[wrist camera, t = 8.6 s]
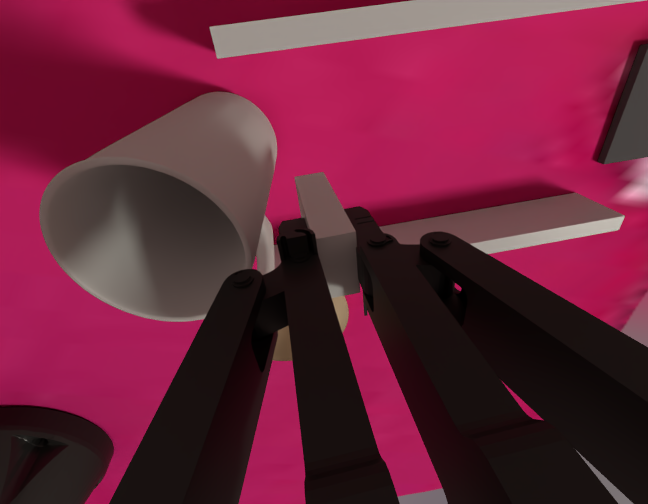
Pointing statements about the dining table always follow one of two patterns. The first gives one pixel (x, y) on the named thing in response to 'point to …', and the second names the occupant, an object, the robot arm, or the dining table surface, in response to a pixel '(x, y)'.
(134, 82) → the dining table surface
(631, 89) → the pad
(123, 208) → the mug
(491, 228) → the channel
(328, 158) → the dining table surface
